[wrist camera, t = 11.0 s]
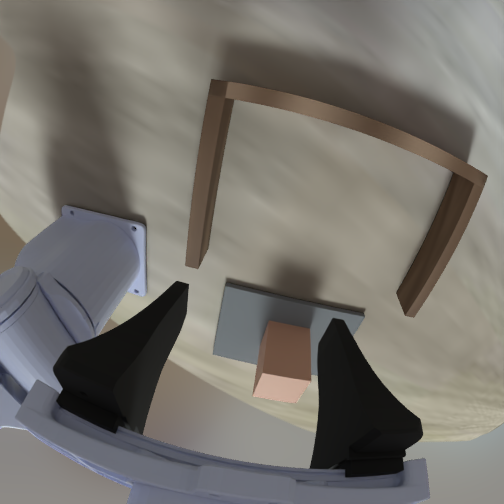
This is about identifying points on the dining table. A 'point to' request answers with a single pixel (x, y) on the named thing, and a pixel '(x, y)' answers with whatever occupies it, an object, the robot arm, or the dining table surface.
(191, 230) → the open side frame
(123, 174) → the dining table surface
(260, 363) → the terracotta block
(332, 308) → the grey mat
